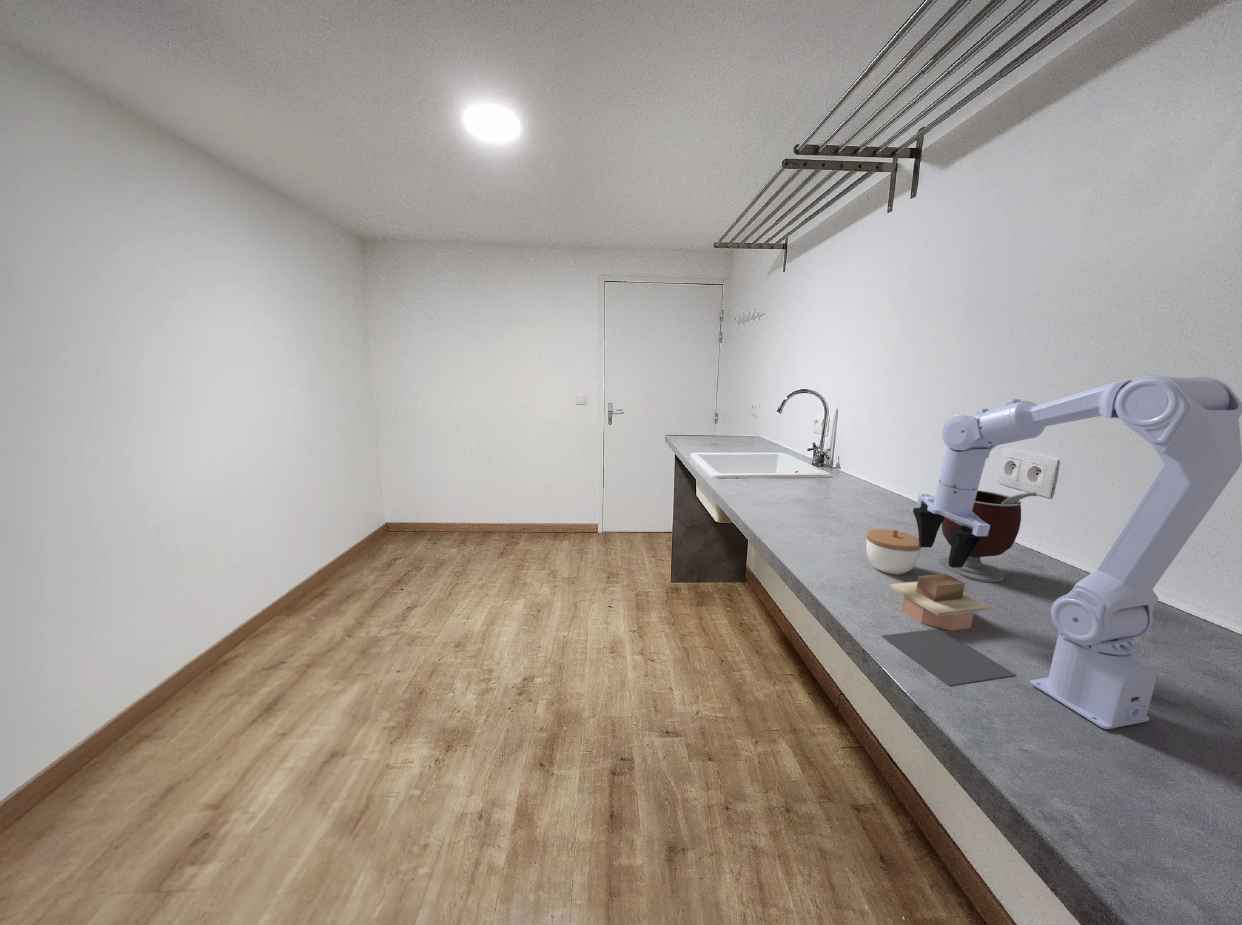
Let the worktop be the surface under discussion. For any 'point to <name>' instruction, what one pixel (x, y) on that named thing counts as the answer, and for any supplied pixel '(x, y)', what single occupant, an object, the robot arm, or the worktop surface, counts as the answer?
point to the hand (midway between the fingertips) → (939, 556)
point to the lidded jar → (892, 550)
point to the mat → (947, 657)
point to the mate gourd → (1002, 534)
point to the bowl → (936, 617)
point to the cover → (940, 595)
